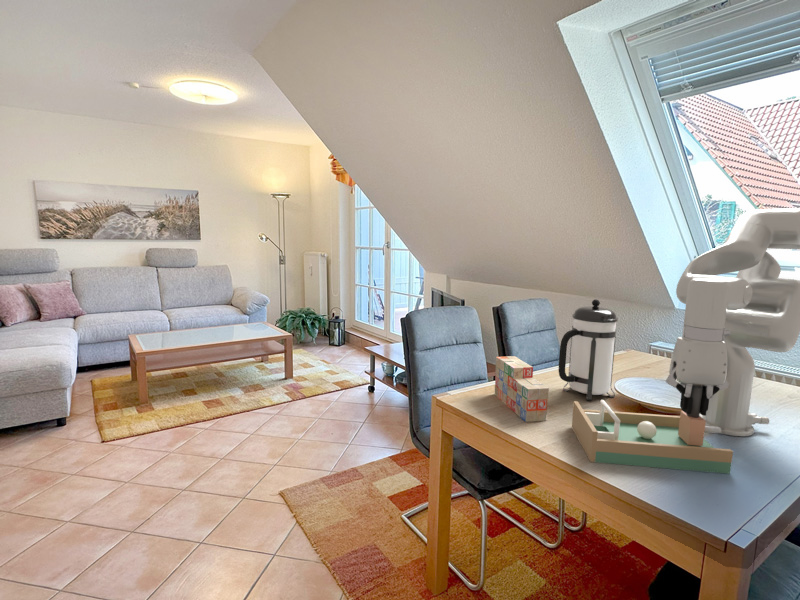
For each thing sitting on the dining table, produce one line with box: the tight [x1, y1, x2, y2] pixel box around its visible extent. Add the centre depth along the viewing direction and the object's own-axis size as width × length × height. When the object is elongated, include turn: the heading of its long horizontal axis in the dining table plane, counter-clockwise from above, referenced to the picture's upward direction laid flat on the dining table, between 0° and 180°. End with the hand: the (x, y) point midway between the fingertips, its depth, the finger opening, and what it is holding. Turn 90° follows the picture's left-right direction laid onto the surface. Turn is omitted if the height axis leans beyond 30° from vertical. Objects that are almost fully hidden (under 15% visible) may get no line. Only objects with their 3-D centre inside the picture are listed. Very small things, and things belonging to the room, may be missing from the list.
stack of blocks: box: [494, 355, 550, 423], centre depth 128 cm, size 21×6×12 cm, turn 11°
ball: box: [637, 421, 657, 439], centre depth 104 cm, size 4×4×4 cm
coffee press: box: [558, 299, 619, 402], centre depth 137 cm, size 17×16×30 cm
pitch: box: [571, 399, 734, 475], centre depth 104 cm, size 28×18×9 cm, turn 81°
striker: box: [678, 384, 721, 446], centre depth 101 cm, size 8×5×13 cm, turn 81°
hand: (693, 412), depth 102 cm, fingers closed on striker, 2 cm apart
